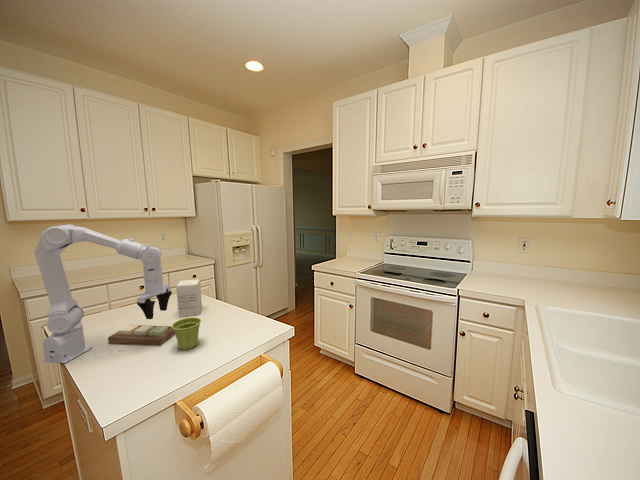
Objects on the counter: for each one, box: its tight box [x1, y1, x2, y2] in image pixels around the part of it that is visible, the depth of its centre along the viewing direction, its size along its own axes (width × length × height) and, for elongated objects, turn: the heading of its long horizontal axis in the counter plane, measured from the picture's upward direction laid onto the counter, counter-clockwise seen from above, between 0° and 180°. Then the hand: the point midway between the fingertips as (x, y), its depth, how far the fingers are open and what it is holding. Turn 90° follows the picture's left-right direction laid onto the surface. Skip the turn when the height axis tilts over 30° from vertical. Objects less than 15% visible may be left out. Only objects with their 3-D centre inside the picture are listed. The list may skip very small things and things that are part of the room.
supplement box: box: [175, 278, 203, 318], centre depth 121 cm, size 9×9×15 cm
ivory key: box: [134, 325, 154, 335], centre depth 98 cm, size 4×4×2 cm
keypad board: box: [107, 324, 176, 347], centre depth 98 cm, size 10×20×2 cm, turn 85°
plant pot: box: [171, 316, 202, 351], centre depth 92 cm, size 9×9×9 cm
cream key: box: [118, 324, 139, 335], centre depth 99 cm, size 4×4×2 cm
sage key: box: [149, 325, 168, 336], centre depth 98 cm, size 4×4×2 cm
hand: (156, 314), depth 97 cm, fingers open, 7 cm apart
